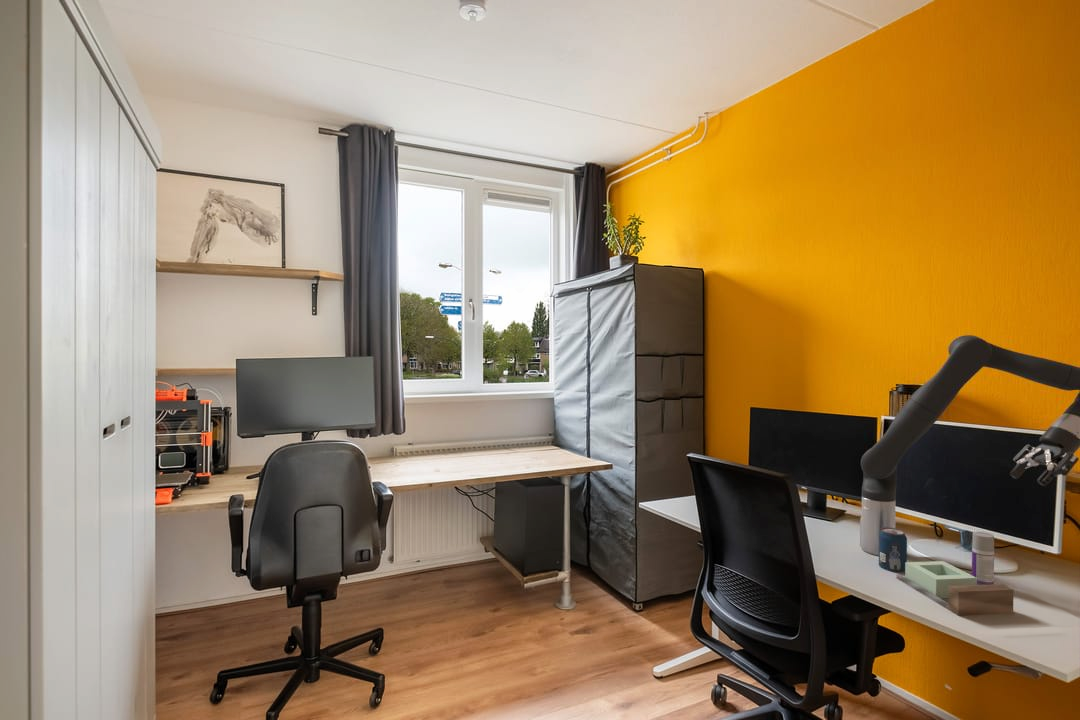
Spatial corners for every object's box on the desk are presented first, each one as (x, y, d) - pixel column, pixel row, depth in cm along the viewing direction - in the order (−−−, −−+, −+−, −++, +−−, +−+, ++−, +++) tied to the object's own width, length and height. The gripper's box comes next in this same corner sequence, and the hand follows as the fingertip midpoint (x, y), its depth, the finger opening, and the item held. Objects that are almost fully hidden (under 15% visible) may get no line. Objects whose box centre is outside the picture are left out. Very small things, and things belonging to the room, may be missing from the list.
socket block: (905, 580, 153) (905, 562, 152) (943, 578, 153) (943, 561, 153) (935, 598, 142) (936, 579, 141) (976, 596, 142) (976, 577, 142)
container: (971, 583, 152) (972, 530, 152) (993, 588, 150) (994, 533, 149) (971, 589, 149) (972, 534, 148) (993, 594, 146) (994, 538, 145)
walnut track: (896, 581, 154) (896, 557, 154) (943, 580, 155) (944, 555, 155) (963, 623, 131) (964, 594, 131) (1019, 621, 132) (1020, 592, 132)
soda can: (893, 565, 165) (894, 526, 165) (912, 575, 158) (913, 534, 158) (873, 567, 164) (873, 527, 164) (891, 577, 157) (891, 535, 157)
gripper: (1032, 422, 155) (994, 466, 155) (1081, 428, 141) (1039, 476, 141) (1053, 439, 155) (1015, 483, 155) (1103, 447, 140) (1061, 495, 141)
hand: (1026, 480), depth 148 cm, fingers open, 8 cm apart
